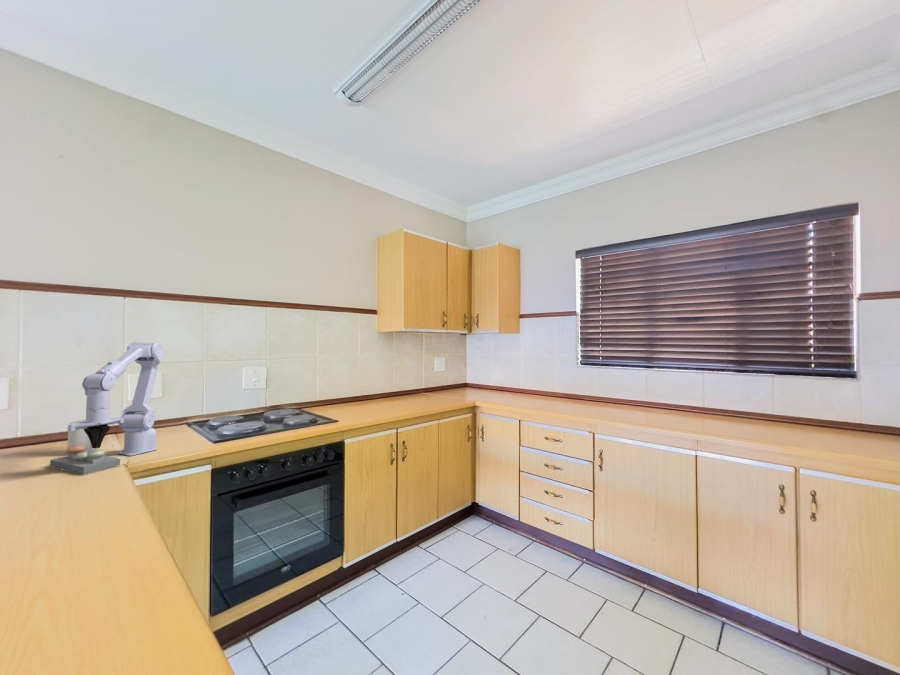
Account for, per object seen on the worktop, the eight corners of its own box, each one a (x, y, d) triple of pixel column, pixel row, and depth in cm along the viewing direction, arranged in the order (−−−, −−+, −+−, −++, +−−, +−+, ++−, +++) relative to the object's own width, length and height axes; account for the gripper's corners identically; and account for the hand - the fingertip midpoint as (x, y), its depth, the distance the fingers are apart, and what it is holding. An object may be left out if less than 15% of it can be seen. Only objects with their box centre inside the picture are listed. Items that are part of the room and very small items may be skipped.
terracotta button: (80, 456, 133) (80, 445, 133) (87, 458, 132) (87, 446, 132) (63, 460, 129) (64, 448, 129) (70, 462, 127) (71, 449, 128)
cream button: (89, 462, 131) (90, 450, 131) (96, 464, 129) (97, 451, 130) (73, 466, 127) (73, 453, 127) (80, 467, 125) (81, 455, 125)
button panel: (49, 467, 127) (50, 459, 127) (86, 458, 136) (87, 452, 136) (83, 475, 120) (83, 467, 120) (119, 465, 129) (120, 458, 129)
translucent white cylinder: (77, 456, 139) (78, 424, 140) (61, 454, 141) (62, 423, 141) (101, 450, 147) (102, 420, 148) (86, 448, 149) (87, 419, 149)
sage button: (99, 461, 129) (100, 448, 129) (107, 462, 127) (107, 450, 127) (83, 464, 125) (84, 452, 125) (91, 466, 123) (91, 453, 123)
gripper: (77, 412, 118) (75, 454, 118) (129, 406, 132) (128, 443, 132) (64, 410, 121) (63, 452, 120) (117, 404, 134) (116, 441, 134)
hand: (96, 447), depth 126 cm, fingers closed
